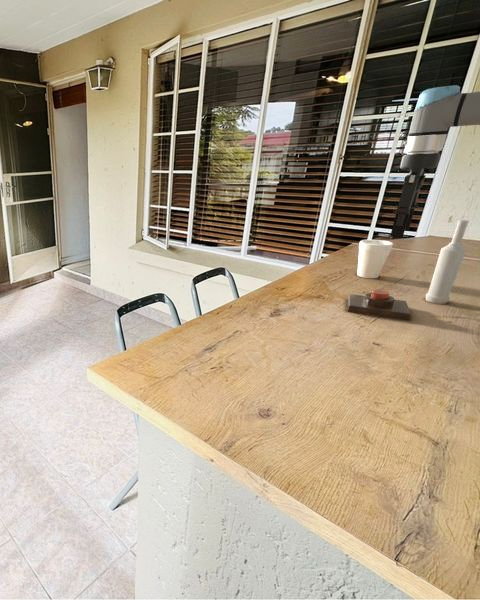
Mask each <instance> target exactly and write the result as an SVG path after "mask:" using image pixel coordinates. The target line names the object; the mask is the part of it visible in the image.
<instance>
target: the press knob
mask: <svg viewBox="0 0 480 600" xmlns="http://www.w3.org/2000/svg"><path fill="white" fill-rule="evenodd" d="M370 293H371V297H372V298H374V299H380V300H388V297H389V296H390V292H389V291H387V290H383V289H373V290H371V292H370Z"/></svg>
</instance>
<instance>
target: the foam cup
mask: <svg viewBox="0 0 480 600" xmlns="http://www.w3.org/2000/svg"><path fill="white" fill-rule="evenodd" d="M393 246H394V242H391V241H388V240H383V239H361V240H360V241H359V245H358V258H357V259H358V262H357V271H356V273H357V274H356V275H357V276H358V277H361V278H365V279H378V278H379V276H380V274H381V272H382V270H383V267H384V265H385V264H386V261H387V259H388V257H389V254H390V252H391V251H392V249H393Z"/></svg>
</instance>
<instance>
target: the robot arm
mask: <svg viewBox="0 0 480 600" xmlns="http://www.w3.org/2000/svg"><path fill="white" fill-rule="evenodd" d="M414 108H415V109H414V111H413V114H412V119H411V123H410V128H409V131H408V135H407V140H404V142H403V145H405V147H404V153H406V154H404V155H402V158H401V161H400V165H399V168H400V169H401V170H409V174H407V175H405V177H404V180H403V185H402V191H401V195H400V198H399V202H398V204H397V207H396V209H395V210H394V209H393V212H392V214H394V215H395V217H394V220H393V224H392V228H391V231H390V234H389V237H390V238H401V239H402V238H404V235H405V231H409V230H410V227H411V224H412V220H413V216H414V214H415V210H416V209H418V208H419V207H420V204H418V199H419V195H420V191H421V190H422V188H423V184H424V182H425V180H426V175H425V174H426V172H425V171H424V169H425V170H426V169H427V170H429V169H435V168H437V167H438V165H439V161H440V157H441V153H440V151H442V150H443V148H444V146H445V142H446V139H447V136H448V135H447V134H448V130H449V128H452V127H453V128H454V127H456V128H457V127H467V126H480V91H473V92H461V86H459V85H447V86H438V87H432V88H427V89H425V90H423V91H422V92H420V94H419V96H418V99H417V102H416V105H415V107H414Z"/></svg>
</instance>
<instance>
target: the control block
mask: <svg viewBox="0 0 480 600" xmlns="http://www.w3.org/2000/svg"><path fill="white" fill-rule="evenodd" d="M371 293H372V292H368V293H367V292H366V293H365V294H364V295H361V294H354V293H353V294H352V293H348V296H347V312H350V313H356V314H363V315H370V316H378V317H383V318H391V319H398V320H403V321H410V319H411V316H412V312H411V311H410V307H409V305H408V303H407V301H406V300H401V299H395V297H393V296H391V295H389V297H388V300H380V299H374V298H372V297H371Z"/></svg>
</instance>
